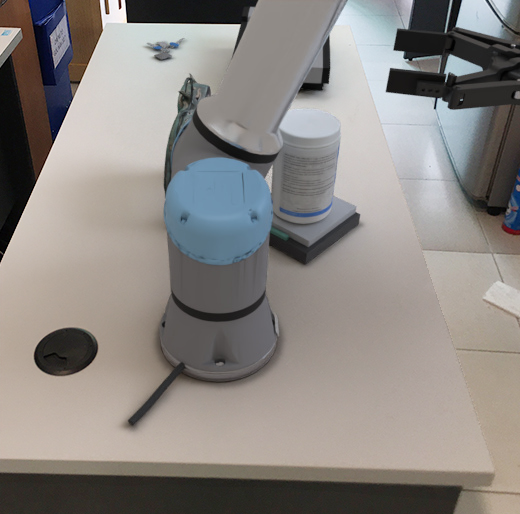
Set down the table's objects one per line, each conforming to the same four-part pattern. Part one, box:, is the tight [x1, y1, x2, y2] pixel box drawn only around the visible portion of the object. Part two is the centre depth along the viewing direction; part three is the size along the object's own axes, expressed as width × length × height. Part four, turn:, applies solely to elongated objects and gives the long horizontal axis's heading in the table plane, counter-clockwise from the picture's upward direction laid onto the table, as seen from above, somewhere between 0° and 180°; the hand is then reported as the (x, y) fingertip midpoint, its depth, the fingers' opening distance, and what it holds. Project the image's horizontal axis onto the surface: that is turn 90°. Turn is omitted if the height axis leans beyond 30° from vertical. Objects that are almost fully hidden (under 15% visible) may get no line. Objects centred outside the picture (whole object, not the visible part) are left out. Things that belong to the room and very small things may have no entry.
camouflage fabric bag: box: [163, 72, 212, 198], centre depth 100 cm, size 20×6×20 cm, turn 170°
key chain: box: [146, 37, 185, 60], centre depth 155 cm, size 14×8×1 cm, turn 167°
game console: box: [230, 6, 331, 91], centre depth 144 cm, size 21×32×8 cm, turn 173°
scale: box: [269, 195, 361, 265], centre depth 100 cm, size 14×14×3 cm
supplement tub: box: [270, 107, 342, 224], centre depth 94 cm, size 10×10×15 cm
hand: (391, 58), depth 80 cm, fingers open, 13 cm apart
